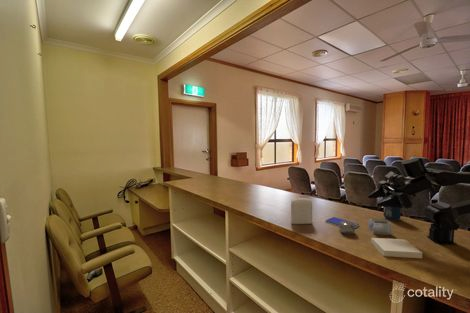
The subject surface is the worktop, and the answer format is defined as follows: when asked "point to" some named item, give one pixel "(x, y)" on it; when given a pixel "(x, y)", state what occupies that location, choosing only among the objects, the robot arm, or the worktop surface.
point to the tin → (346, 228)
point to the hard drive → (338, 221)
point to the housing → (379, 226)
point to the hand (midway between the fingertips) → (372, 200)
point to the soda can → (392, 212)
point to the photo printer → (301, 211)
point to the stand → (396, 248)
